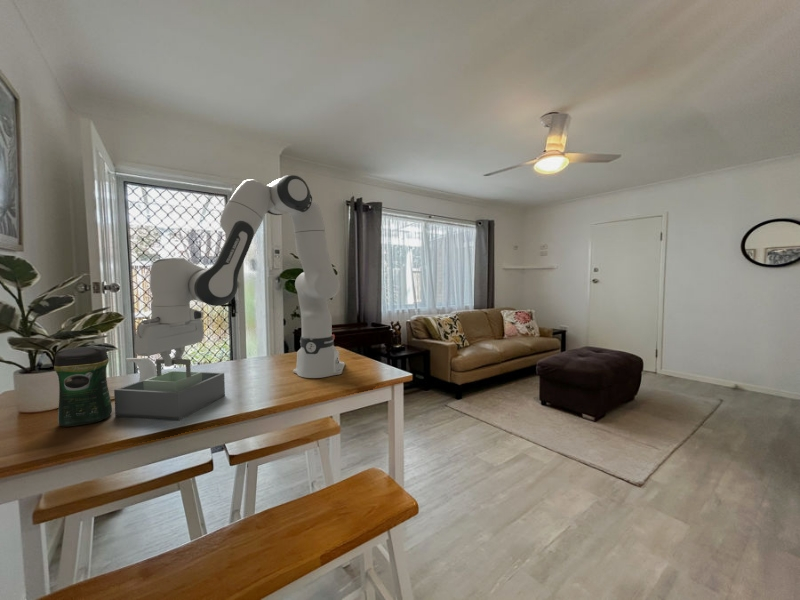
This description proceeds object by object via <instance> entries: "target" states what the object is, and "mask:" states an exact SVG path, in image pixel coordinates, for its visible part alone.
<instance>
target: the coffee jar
mask: <svg viewBox="0 0 800 600" xmlns="http://www.w3.org/2000/svg"><path fill="white" fill-rule="evenodd" d="M109 361H110V359H109V354H108V351H107V347H106V346H80V347H71V348H70V347H69V348H65V349H62V350H58V351H57V352H56V354H55V357H54V364H53V365H54V366H53V369H54V371H55V373H56V374H57V376H58V377H57V378H58V384H59V385H58V386H59V388H58V390H59V391H58V392H59V394H58V409H57V411H58V413H57V422H58V425H59V426H61V427H73V426H74V427H75V426H81V425H87V424H88V425H89V424H93V423H97V422H101V421H102V420H104V419H107V418H109V417H110V416H111V414H112V413H113V408H112V401H111V395H110V392H109V387H108V382H107V381H108V380H107V366H108V365H109Z"/></svg>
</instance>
